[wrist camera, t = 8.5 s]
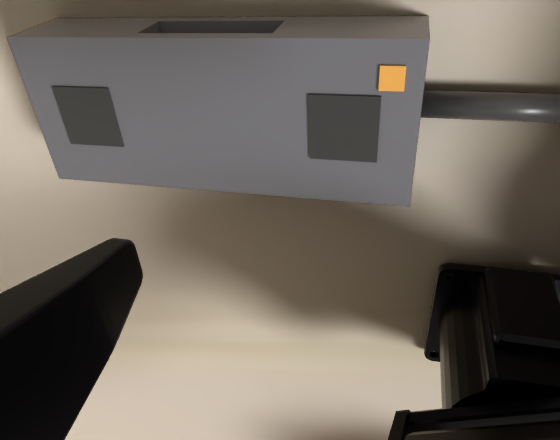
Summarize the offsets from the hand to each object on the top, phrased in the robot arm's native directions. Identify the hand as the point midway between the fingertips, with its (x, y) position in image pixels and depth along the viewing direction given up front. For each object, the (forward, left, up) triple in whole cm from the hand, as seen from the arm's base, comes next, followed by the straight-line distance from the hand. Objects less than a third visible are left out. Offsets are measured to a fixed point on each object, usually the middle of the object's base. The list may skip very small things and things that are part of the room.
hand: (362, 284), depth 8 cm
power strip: (-1, +3, -12) cm, 12 cm away
